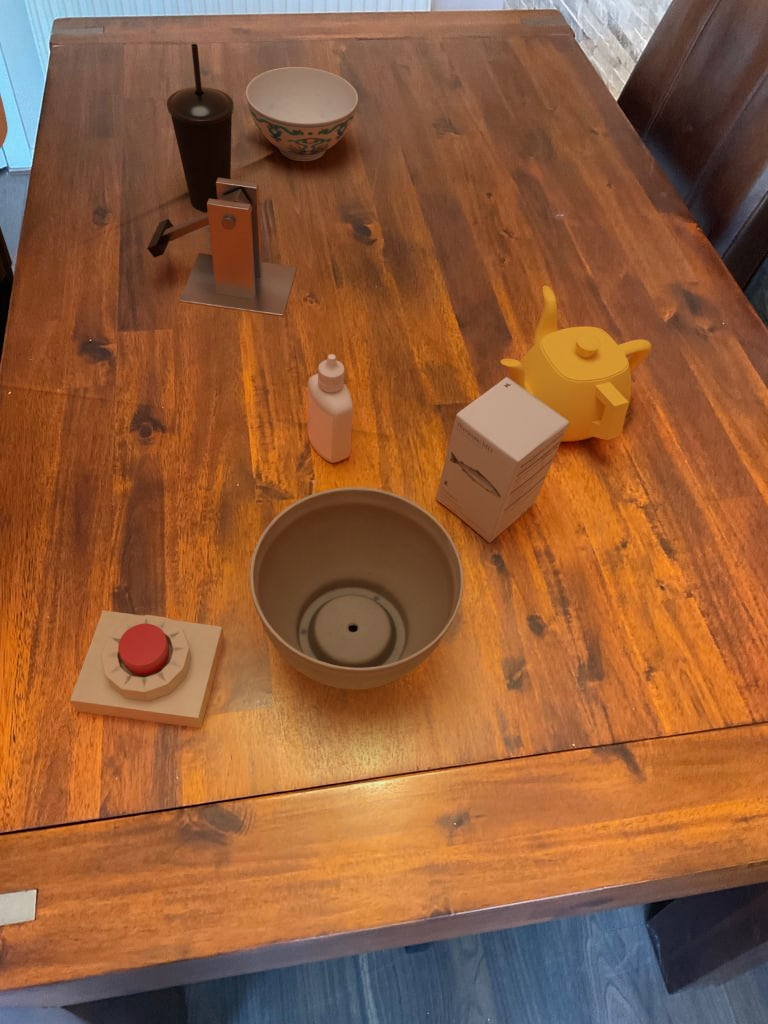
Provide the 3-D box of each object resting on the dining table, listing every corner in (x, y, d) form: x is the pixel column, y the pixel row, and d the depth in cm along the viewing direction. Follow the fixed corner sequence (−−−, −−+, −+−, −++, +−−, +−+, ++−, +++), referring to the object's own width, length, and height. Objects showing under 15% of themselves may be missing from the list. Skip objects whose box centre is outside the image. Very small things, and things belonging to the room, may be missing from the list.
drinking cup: (171, 218, 102) (147, 53, 86) (194, 186, 106) (174, 24, 90) (228, 231, 101) (215, 67, 85) (249, 198, 106) (239, 37, 90)
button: (116, 672, 62) (111, 662, 60) (130, 630, 64) (126, 620, 62) (162, 678, 62) (159, 668, 60) (174, 636, 64) (171, 626, 62)
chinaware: (344, 186, 109) (346, 131, 103) (236, 168, 110) (232, 112, 103) (363, 130, 118) (366, 76, 112) (263, 113, 118) (261, 59, 112)
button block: (76, 711, 63) (64, 690, 60) (107, 622, 68) (98, 599, 65) (201, 728, 63) (195, 709, 60) (224, 638, 68) (220, 616, 65)
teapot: (524, 350, 93) (545, 280, 85) (635, 392, 90) (668, 323, 82) (481, 428, 85) (500, 358, 77) (602, 475, 82) (634, 409, 74)
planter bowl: (258, 559, 73) (252, 486, 64) (432, 557, 75) (450, 486, 66) (253, 730, 64) (246, 672, 55) (453, 723, 65) (477, 665, 57)
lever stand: (180, 308, 92) (164, 209, 82) (199, 260, 97) (187, 162, 87) (283, 323, 92) (281, 225, 82) (297, 274, 97) (296, 177, 87)
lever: (157, 262, 89) (143, 244, 88) (169, 235, 92) (156, 218, 91) (246, 226, 85) (233, 207, 83) (255, 200, 87) (243, 181, 86)
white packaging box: (432, 500, 79) (452, 411, 68) (482, 462, 82) (507, 372, 72) (488, 547, 76) (518, 462, 66) (537, 505, 79) (572, 419, 69)
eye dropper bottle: (306, 464, 80) (307, 378, 70) (307, 422, 83) (307, 334, 74) (350, 465, 80) (356, 379, 71) (349, 423, 84) (355, 336, 74)
